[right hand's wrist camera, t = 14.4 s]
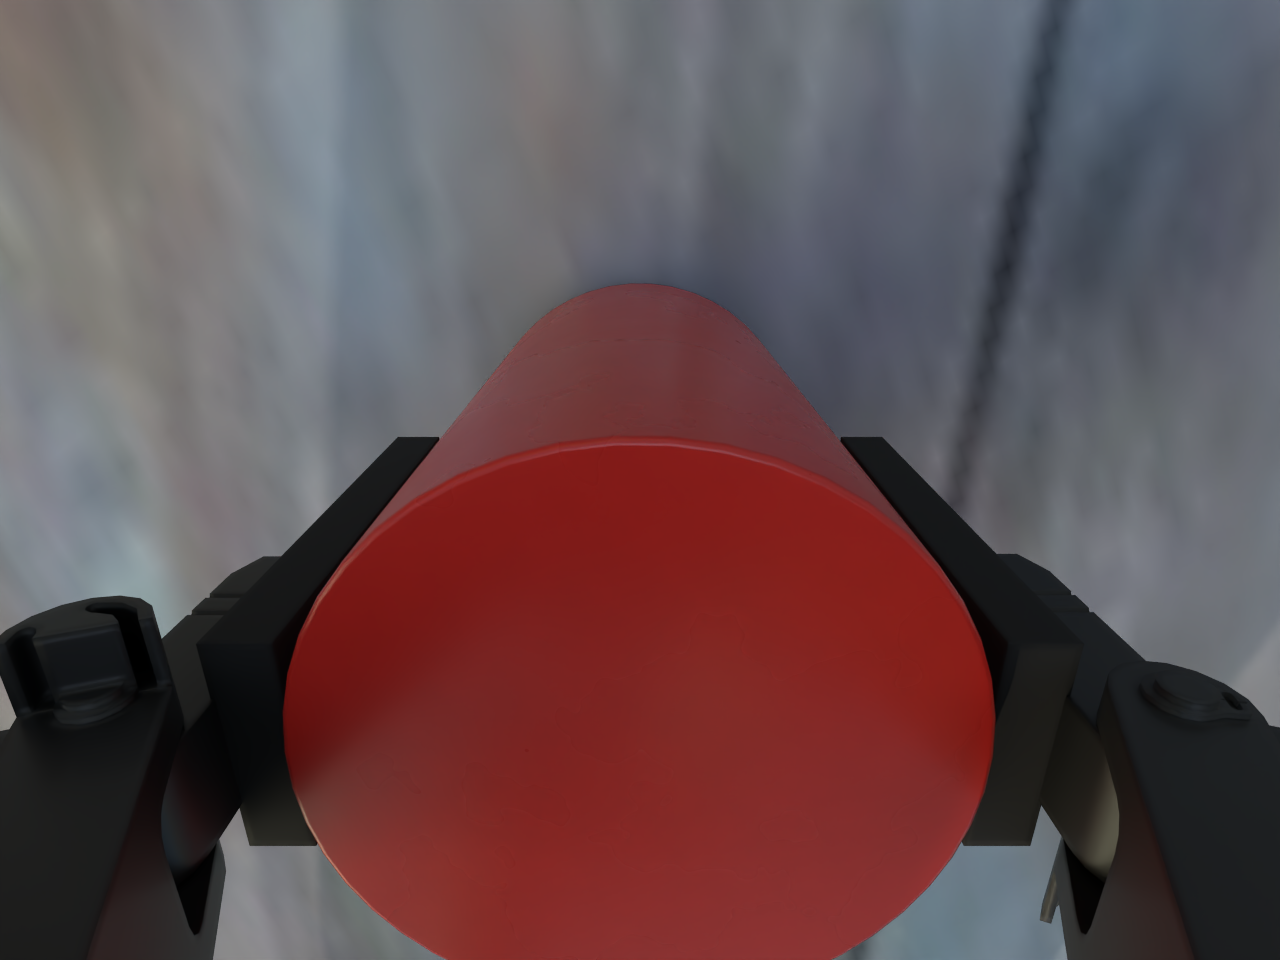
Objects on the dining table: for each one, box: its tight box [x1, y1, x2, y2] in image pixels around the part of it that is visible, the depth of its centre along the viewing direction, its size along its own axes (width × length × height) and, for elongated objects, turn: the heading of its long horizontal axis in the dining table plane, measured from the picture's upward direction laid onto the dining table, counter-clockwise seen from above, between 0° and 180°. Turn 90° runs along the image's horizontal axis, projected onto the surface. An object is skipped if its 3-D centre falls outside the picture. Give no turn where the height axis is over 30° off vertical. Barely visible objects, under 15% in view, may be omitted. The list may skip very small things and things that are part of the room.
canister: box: [283, 284, 996, 960], centre depth 12 cm, size 7×7×11 cm
